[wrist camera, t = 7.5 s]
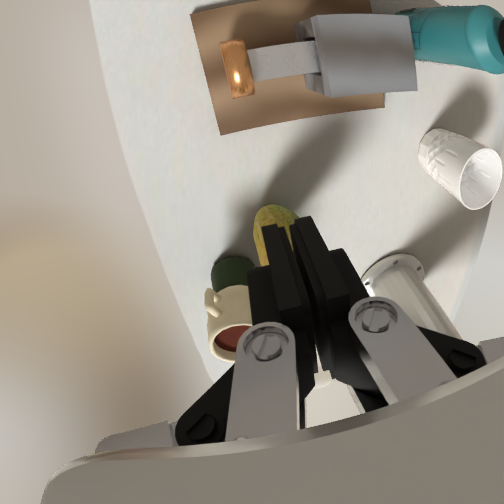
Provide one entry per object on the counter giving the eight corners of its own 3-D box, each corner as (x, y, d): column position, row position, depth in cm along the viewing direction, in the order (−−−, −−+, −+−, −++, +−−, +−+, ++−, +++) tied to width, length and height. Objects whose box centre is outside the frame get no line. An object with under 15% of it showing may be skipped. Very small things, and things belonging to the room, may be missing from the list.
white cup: (457, 122, 34) (506, 146, 26) (454, 173, 39) (497, 205, 31) (414, 125, 34) (462, 149, 26) (413, 179, 39) (455, 214, 31)
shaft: (375, 75, 28) (401, 80, 24) (231, 96, 29) (234, 103, 24) (367, 27, 25) (394, 24, 21) (218, 44, 26) (219, 40, 21)
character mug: (187, 262, 43) (181, 335, 32) (227, 231, 41) (233, 301, 30) (238, 305, 48) (246, 376, 37) (276, 280, 46) (294, 351, 35)
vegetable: (243, 194, 38) (268, 315, 22) (294, 182, 38) (355, 293, 21) (253, 235, 41) (280, 364, 25) (300, 224, 41) (353, 345, 25)
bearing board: (380, 105, 33) (422, 123, 25) (220, 133, 33) (222, 157, 26) (363, -4, 25) (405, -16, 17) (190, 15, 25) (181, 0, 18)
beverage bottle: (417, 67, 30) (545, 103, 14) (372, 46, 29) (502, 61, 12) (428, 24, 27) (557, 37, 10) (384, 1, 25) (513, -12, 9)
